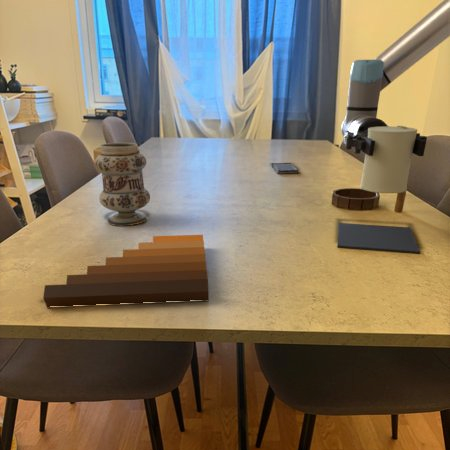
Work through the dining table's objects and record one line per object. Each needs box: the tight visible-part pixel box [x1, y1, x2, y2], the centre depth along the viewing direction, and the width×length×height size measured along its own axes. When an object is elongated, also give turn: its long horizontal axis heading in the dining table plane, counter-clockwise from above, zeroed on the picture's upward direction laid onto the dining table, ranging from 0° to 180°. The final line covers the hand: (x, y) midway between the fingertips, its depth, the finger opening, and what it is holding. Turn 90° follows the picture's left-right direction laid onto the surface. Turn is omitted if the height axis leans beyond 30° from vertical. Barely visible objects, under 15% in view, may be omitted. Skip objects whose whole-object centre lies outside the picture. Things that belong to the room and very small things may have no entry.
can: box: [359, 125, 418, 194], centre depth 87 cm, size 9×9×12 cm
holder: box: [331, 180, 410, 213], centre depth 117 cm, size 19×13×8 cm
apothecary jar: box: [94, 142, 151, 226], centre depth 103 cm, size 12×12×18 cm
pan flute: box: [42, 234, 210, 308], centre depth 77 cm, size 25×3×25 cm
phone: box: [271, 162, 299, 175], centre depth 163 cm, size 8×1×15 cm
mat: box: [336, 222, 421, 255], centre depth 94 cm, size 16×16×1 cm
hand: (397, 148), depth 81 cm, fingers closed on can, 9 cm apart
